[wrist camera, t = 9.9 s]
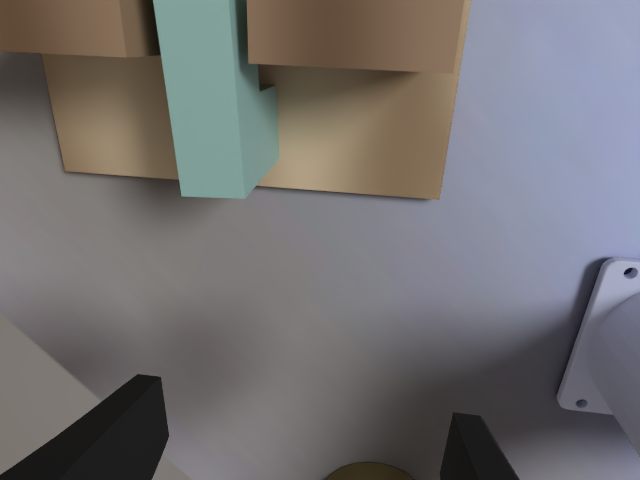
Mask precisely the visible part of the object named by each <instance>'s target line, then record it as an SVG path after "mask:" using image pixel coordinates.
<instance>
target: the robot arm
mask: <svg viewBox="0 0 640 480" xmlns="http://www.w3.org/2000/svg"><path fill="white" fill-rule="evenodd" d="M628 268H633V270H632V271H631V272H630V273H628V274H624V272H625V270H626V269H628ZM581 399H583V400H582V401H580V402H577V401H578V400H581ZM557 401H558V403H559V405H560V406H561V407H562V408H564V409H567V410H575V411H584V412H592V413H601V414H609V415H614V416H615V418H616V419H617V421H618V423H619V424H620V426H621V427H622V429H623V431H624V432H625V434H626V435H627V437H628V439H629V440H630V442H631V443H632V445H633V447H634V448H635V450H636V452H637V453H638V455H639V456H640V259H630V258H618V257H617V258H611V259H608V260H606V261H605V262H604V263H603V264H602V266H601V268H600V271H599V274H598V277H597V280H596V283H595V286H594V289H593V292H592V295H591V297H590V300H589V303H588V306H587V309H586V312H585V315H584V318H583V321H582V324H581V327H580V330H579V333H578V335H577V338H576V341H575V344H574V347H573V350H572V353H571V356H570V359H569V362H568V365H567V368H566V371H565V373H564V376H563V379H562V382H561V385H560V388H559V391H558V394H557ZM168 438H169V432H168V425H167V418H166V411H165V403H164V396H163V389H162V382H161V377H157V376H149V375H141V374H137V375H136V376H135V377H133V378H132V379H131V380H129V381H128V382H127V383H125V384H124V385H123V386H121V387H120V388H119V389H118V390H116V391H115V392H114V393H112V394H111V395H110V396H109V397H107V398H106V399H105V400H103V401H102V402H101V403H100V404H98V405H97V406H96V407H94V408H93V409H92V410H91V411H89V412H88V413H87V414H85V415H84V416H83V417H81V418H80V419H79V420H77V421H76V422H75V423H73V424H72V425H71V426H69V427H68V428H67V429H65V430H64V431H63V432H61V433H60V434H59V435H57V436H56V437H55V438H53V439H52V440H50V441H49V442H47V443H46V444H44V445H43V446H42V447H40V448H39V449H37V450H36V451H34V452H33V453H32V454H30V455H29V456H27V457H26V458H25V459H23V460H22V461H20V462H19V463H17V464H16V465H15V466H13V467H12V468H10V469H9V470H7V471H6V472H4V473H3V474H1V475H0V480H151V479H152V478H153V475H154V473H155V471H156V468H157V466H158V463H159V461H160V459H161V456H162V453H163V451H164V448H165V446H166V443H167V441H168ZM440 480H520V479H519V478H518V476H517V475H516V473H515V471H514V470H513V468H512V467H511V465H510V463H509V462H508V460H507V459H506V457H505V455H504V454H503V452H502V451H501V449H500V447H499V446H498V444H497V442H496V441H495V439H494V437H493V436H492V434H491V432H490V430H489V429H488V427H487V425H486V423H485V422H484V420H483V419H482V418H481V417H480V416H477V415H469V414H461V413H453V416H452V421H451V425H450V430H449V434H448V439H447V443H446V448H445V452H444V457H443V462H442V466H441V471H440Z"/></svg>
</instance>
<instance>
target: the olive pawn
mask: <svg viewBox="0 0 640 480" xmlns="http://www.w3.org/2000/svg"><path fill="white" fill-rule="evenodd" d="M327 480H414V479H413V478H411V477H410V476H409V475H408V474H406V473H405V472H404V471H401V470H399V469H397V468H394V467H392V466H389V465H385V464H379V463H373V462H367V463H354V464H351V465H347V466H344V467H341V468H339V469H338V470H336V471H335V472H333V473H332V474H330V476H329V477H328V479H327Z"/></svg>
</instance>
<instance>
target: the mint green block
mask: <svg viewBox="0 0 640 480" xmlns="http://www.w3.org/2000/svg"><path fill="white" fill-rule="evenodd" d="M153 3H154V10H155V17H156V24H157V31H158V38H159V45H160V51H161V58H162V65H163V72H164V79H165V86H166V93H167V100H168V107H169V113H170V120H171V127H172V134H173V141H174V148H175V155H176V162H177V169H178V175H179V182H180V189H181V196H182V197H212V198H244V199H245V198H246V197H247V196H248V195H249V193H250V192H251V191H252V190H253V189H254V188H255V187H256V185H257V184H258V183H259V182H260V181H261V180H262V178H263V177H264V176H265V175H266V174H267V173H268V171H269V170H270V169H271V168H272V167H273V166H274V164H275V163H276V162H277V161H278V160H279V159H280V158H279V137H278V116H277V95H276V85H259V75H258V64H248V27H247V0H153Z"/></svg>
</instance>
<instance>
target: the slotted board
mask: <svg viewBox="0 0 640 480" xmlns="http://www.w3.org/2000/svg"><path fill="white" fill-rule="evenodd" d="M470 5H471V0H247V27H248V64H258V75H259V85H276V95H277V116H278V137H279V158H280V159H279V160H278V161H277V162H276V163H275V164H274V166H273V167H272V168H271V169H270V170H269V171H268V173H267V174H266V175H265V176H264V177H263V178H262V180H261V181H260V182H259V183H258V184H257V185H256V186H267V187H280V188H293V189H306V190H319V191H332V192H345V193H358V194H371V195H384V196H398V197H411V198H424V199H437V200H439V199H440V193H441V187H442V181H443V174H444V168H445V162H446V156H447V149H448V143H449V137H450V130H451V124H452V118H453V112H454V105H455V99H456V93H457V87H458V80H459V74H460V68H461V62H462V55H463V49H464V43H465V36H466V30H467V24H468V18H469V11H470ZM0 51H4V52H24V53H41V56H42V61H43V66H44V71H45V76H46V81H47V86H48V90H49V95H50V100H51V105H52V110H53V115H54V120H55V124H56V129H57V134H58V139H59V144H60V149H61V154H62V159H63V163H64V168H65V171H71V172H84V173H97V174H110V175H123V176H136V177H149V178H162V179H175V180H179V175H178V169H177V162H176V155H175V148H174V141H173V134H172V127H171V120H170V113H169V107H168V100H167V93H166V86H165V79H164V72H163V65H162V58H161V51H160V45H159V38H158V31H157V24H156V17H155V10H154V3H153V0H0Z"/></svg>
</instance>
